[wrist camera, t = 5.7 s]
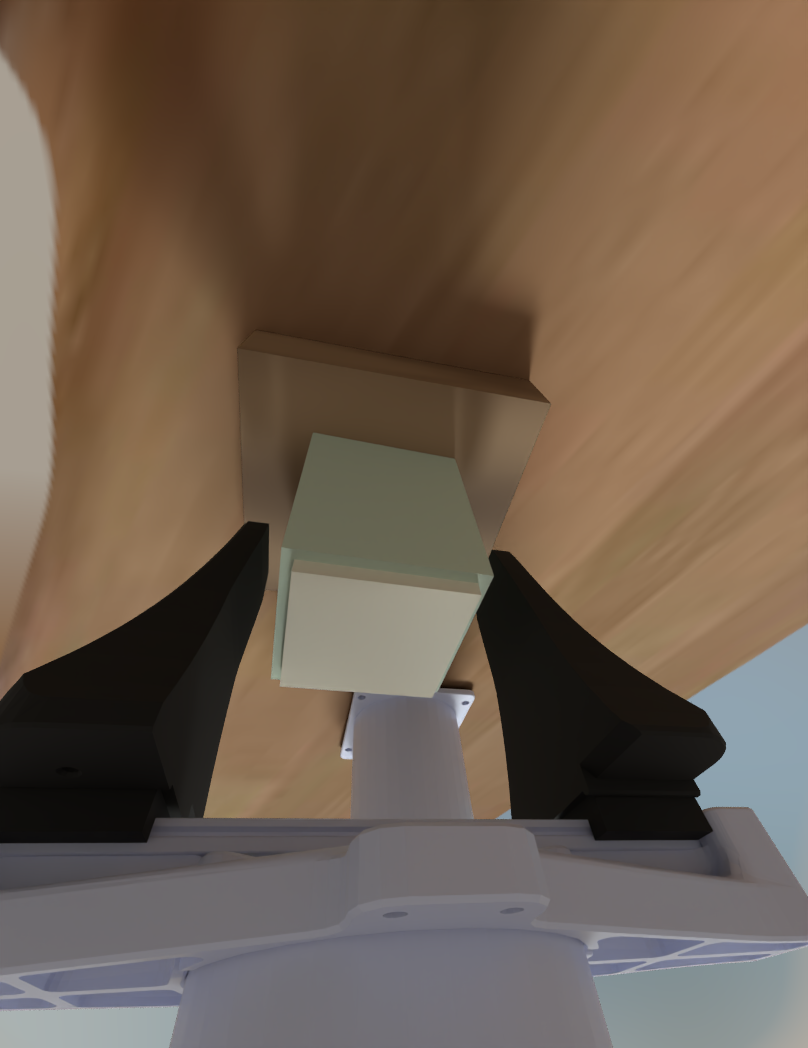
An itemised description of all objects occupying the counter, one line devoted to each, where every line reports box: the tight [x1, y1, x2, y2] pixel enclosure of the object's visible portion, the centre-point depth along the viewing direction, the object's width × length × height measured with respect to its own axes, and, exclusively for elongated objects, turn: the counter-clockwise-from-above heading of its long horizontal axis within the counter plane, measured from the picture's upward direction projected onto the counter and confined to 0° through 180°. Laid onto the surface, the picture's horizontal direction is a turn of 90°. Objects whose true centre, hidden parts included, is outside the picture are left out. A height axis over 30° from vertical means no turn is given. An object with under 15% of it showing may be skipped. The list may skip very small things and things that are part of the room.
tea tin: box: [271, 433, 494, 698], centre depth 13 cm, size 5×5×6 cm
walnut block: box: [237, 330, 551, 591], centre depth 17 cm, size 10×10×3 cm
